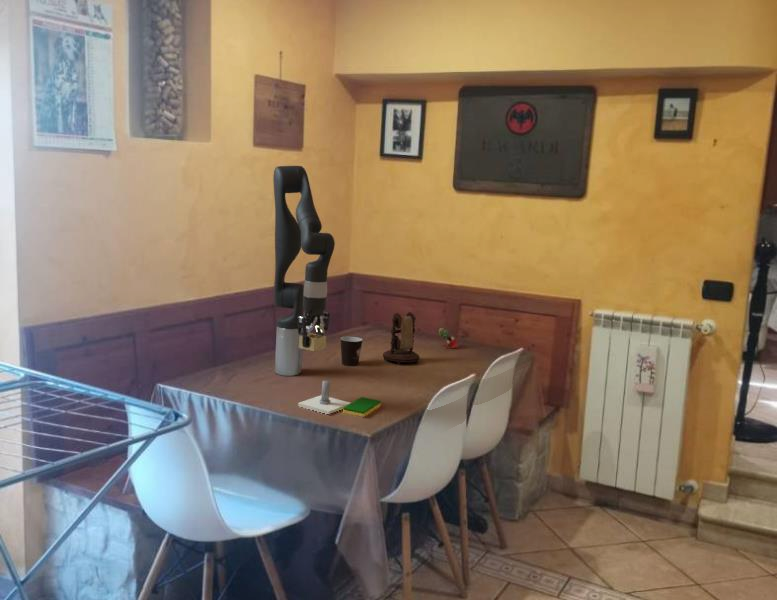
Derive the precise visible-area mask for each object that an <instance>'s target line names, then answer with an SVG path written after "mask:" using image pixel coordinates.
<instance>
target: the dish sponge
mask: <svg viewBox="0 0 777 600" xmlns="http://www.w3.org/2000/svg"><path fill="white" fill-rule="evenodd" d="M381 402H382V401H381V400H378V399H373V398H369V397H365V396H364V397H363V396H361V397H359V398H358V399H355V400H354V401H352V402H350V403H351V404H349V405H347V406H346V407H344V408H343V410H342V414H343V413H347V414H353V415H359V416H365V415H367V414H368V413H370V412H371V411H373V410H375V409H376V408H378V407H379V406H381V407H382V403H381ZM378 409H379V408H378ZM376 410H377V409H376ZM376 410H375V411H376ZM373 412H374V411H373ZM370 414H371V413H370ZM367 416H368V415H367Z"/></svg>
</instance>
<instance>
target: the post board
mask: <svg viewBox="0 0 777 600" xmlns="http://www.w3.org/2000/svg"><path fill="white" fill-rule="evenodd" d="M330 383H331V382H330V381H329V380H322V381H321V394H320V395H318V396H317V395H316V396H315V397H311V398H308V399H306V400H304V401H300V402H298V403H297V407H298V406H299V407H298V408H301V407H303V408H302V409H305V408H306V409H305V410H308V409H310V410H309V411H312V410H314V411H313V412H315V411H317V412H316V413H319V412H321V413H320V414H322V413H325V414H324V415H326V414H330V413H333V412H336V411H338V412H340V411H339V410H341V411H343V410H344V409H343V408H344V407H346V406H347V405H349V404H351V403H352V402H349V401H346V400H341V399H338V398H336V397H335V398H334V397H332V396H330V386H331V384H330ZM342 409H343V410H342ZM336 413H337V412H336ZM333 414H334V413H333ZM330 415H331V414H330Z"/></svg>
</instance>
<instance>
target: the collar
mask: <svg viewBox="0 0 777 600" xmlns="http://www.w3.org/2000/svg"><path fill="white" fill-rule="evenodd" d="M309 336H310V340H309V347H308V348H305V347H303V345H302V339H303V336H302V335H301V336H299V348H301V349H303V350H306V351H311V352H317V351H321V350H325V349H326V348H327V336H326V335H323V336H322V335H317V334H316V333H313V332H312V333H310V335H309Z"/></svg>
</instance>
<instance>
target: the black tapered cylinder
mask: <svg viewBox="0 0 777 600" xmlns="http://www.w3.org/2000/svg"><path fill="white" fill-rule="evenodd" d="M363 341H364V340H363V338H361V337H357V336H342V337H340V355H341V365H343V366H346V367H357V366H359V363H360V362H359V361H360V358H361V357H360V356H361V350H362V345H363Z"/></svg>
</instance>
